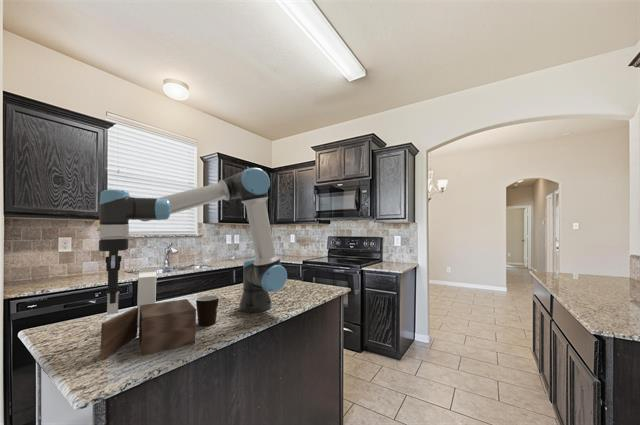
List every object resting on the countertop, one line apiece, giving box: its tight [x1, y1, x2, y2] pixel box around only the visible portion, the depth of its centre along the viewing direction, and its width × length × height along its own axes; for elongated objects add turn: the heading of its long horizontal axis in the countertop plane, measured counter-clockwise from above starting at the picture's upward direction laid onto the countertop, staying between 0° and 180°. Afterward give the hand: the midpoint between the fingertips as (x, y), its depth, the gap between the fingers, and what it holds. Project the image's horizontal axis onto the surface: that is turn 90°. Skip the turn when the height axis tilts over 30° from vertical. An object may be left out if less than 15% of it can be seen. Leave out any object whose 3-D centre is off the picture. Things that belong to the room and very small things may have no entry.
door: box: [99, 307, 139, 360], centre depth 87 cm, size 2×17×10 cm, turn 5°
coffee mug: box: [195, 295, 220, 327], centre depth 110 cm, size 12×9×10 cm
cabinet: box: [138, 298, 197, 356], centre depth 92 cm, size 15×17×11 cm
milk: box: [136, 267, 157, 327], centre depth 110 cm, size 6×6×22 cm
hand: (112, 313), depth 86 cm, fingers closed
